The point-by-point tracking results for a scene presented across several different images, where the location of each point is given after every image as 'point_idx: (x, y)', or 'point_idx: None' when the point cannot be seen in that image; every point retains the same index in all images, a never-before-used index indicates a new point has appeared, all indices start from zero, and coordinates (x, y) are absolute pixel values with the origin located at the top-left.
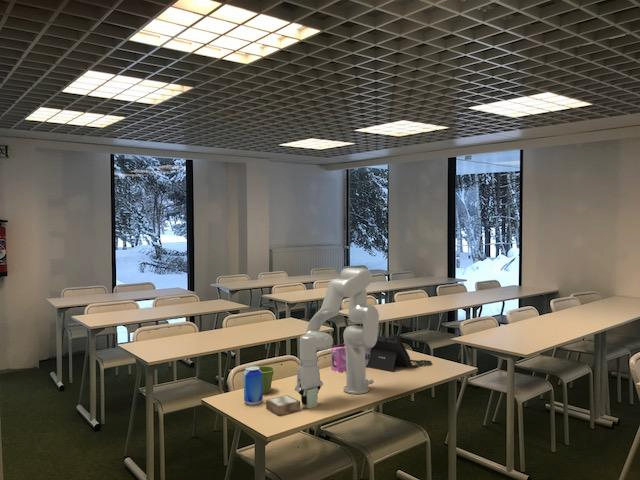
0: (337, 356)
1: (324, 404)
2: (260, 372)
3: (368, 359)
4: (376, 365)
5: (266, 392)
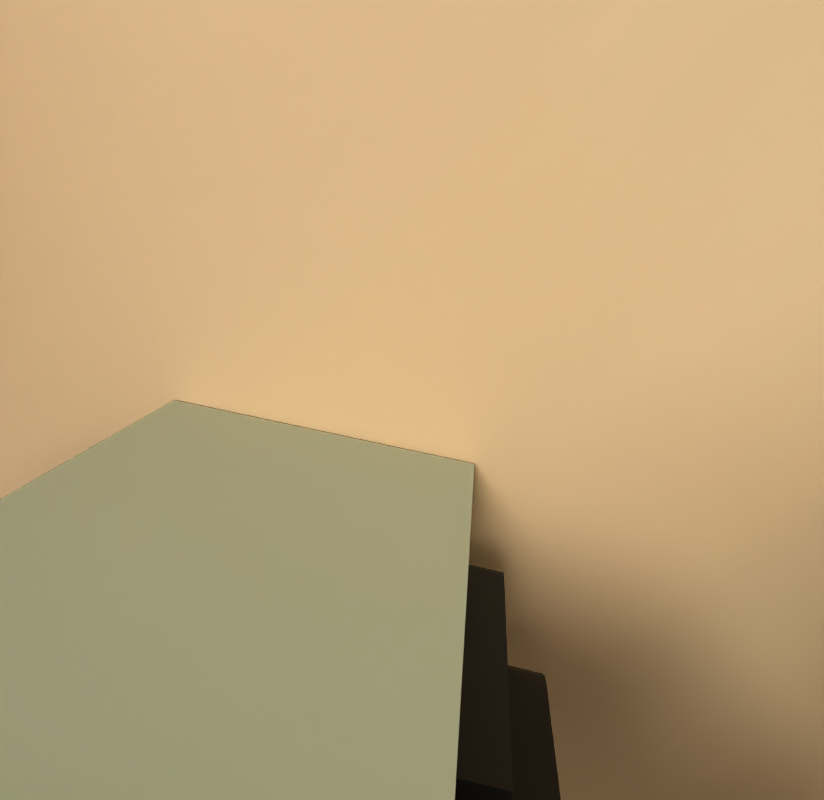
0: None
1: (617, 776)
2: None
3: None
4: None
5: None
